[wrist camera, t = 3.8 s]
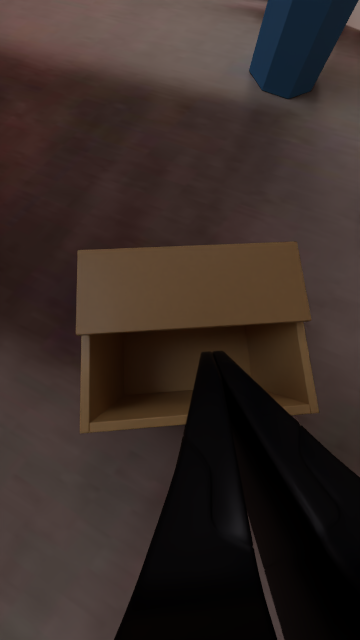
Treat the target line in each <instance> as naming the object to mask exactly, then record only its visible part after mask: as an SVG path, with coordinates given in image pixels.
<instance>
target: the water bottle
mask: <svg viewBox="0 0 360 640" xmlns="http://www.w3.org/2000/svg"><path fill="white" fill-rule="evenodd" d="M357 2H358V0H268V3H267V6H266V10H265V14H264V17H263V21H262V25H261V28H260V32H259V36H258V40H257V43H256V47H255V51H254V54H253V58H252V62H251V65H250V69H249V71H250V73H251V74H252V76H253V77H254V79H255V80H256V82H257V83H258V85H259V86H260V88H261V89H262V90H263V91H266V92H269V93H272V94H275V95H278V96H281V97H284V98H287V99H289V98H292V97H295V96H298V95H301V94H304V93H307V92H309V91H311V90H312V88H313V86H314V84H315V82H316V80H317V78H318V77H319V75H320V73H321V71H322V69H323V67H324V65H325V63H326V61H327V59H328V57H329V56H330V54H331V52H332V50H333V48H334V46H335V44H336V42H337V40H338V38H339V36H340V35H341V33H342V31H343V29H344V27H345V25H346V23H347V21H348V19H349V17H350V15H351V14H352V11H353V10H354V8H355V6H356V4H357Z"/></svg>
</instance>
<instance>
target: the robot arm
mask: <svg viewBox="0 0 360 640" xmlns="http://www.w3.org/2000/svg"><path fill="white" fill-rule="evenodd" d="M247 513H248V515H247ZM248 516H249V520H250V523H251V526H252V530H253V533H254V537H255V540H256V543H257V547H258V550H259V554H260V557H261V560H262V564H263V567H264V569H265V574H266V578H267V581H268V585H269V588H270V591H271V595H272V598H273V602H274V605H275V608H276V612H277V615H278V619H279V622H280V625H281V629H282V632H283V636H284V639H285V640H360V477H359V476H357V475H356V474H355V473H354V472H353V471H351V470H350V469H349V468H348V467H347V466H346V465H344V464H343V463H342V462H341V461H340V460H339V459H337V458H336V457H335V456H334V455H333V454H332V453H331V452H329V451H328V450H327V449H326V448H325V447H324V446H323V445H322V444H321V443H320V442H319V441H318V440H316V439H315V438H314V437H313V436H312V435H311V434H310V433H309V432H308V431H307V430H306V429H305V428H304V427H303V426H300V424H299V423H298V422H297V421H296V420H295V419H294V418H293V417H292V416H291V415H290V414H289V413H288V412H287V411H286V410H285V409H284V408H283V407H282V406H281V405H280V404H279V403H277V402H276V401H275V400H274V399H273V398H272V397H271V396H270V395H269V394H268V393H267V392H266V391H265V390H264V389H263V388H262V387H261V386H260V385H259V384H258V383H257V382H256V381H254V380H253V379H252V378H251V377H250V376H249V375H248V374H247V373H246V372H245V371H244V370H243V369H242V368H241V367H240V366H239V365H238V364H237V363H236V362H235V361H234V360H233V359H231V358H230V357H229V356H228V355H227V354H226V353H225V352H224V351H222V350H221V351H213V352H211V351H206V352H201V355H200V359H199V364H198V369H197V373H196V378H195V383H194V387H193V392H192V397H191V401H190V406H189V411H188V415H187V420H186V425H185V429H184V436H183V438H182V443H181V447H180V452H179V456H178V460H177V464H176V468H175V472H174V475H173V478H172V481H171V484H170V488H169V491H168V494H167V497H166V500H165V503H164V506H163V508H162V511H161V514H160V517H159V520H158V523H157V526H156V529H155V532H154V535H153V538H152V541H151V543H150V546H149V549H148V552H147V555H146V558H145V561H144V564H143V567H142V570H141V572H140V575H139V578H138V581H137V583H136V586H135V589H134V591H133V594H132V597H131V599H130V602H129V604H128V607H127V609H126V612H125V614H124V617H123V619H122V622H121V624H120V627H119V629H118V631H117V634H116V636H115V638H114V640H277V637H276V634H275V630H274V627H273V624H272V620H271V617H270V614H269V611H268V607H267V604H266V600H265V597H264V593H263V589H262V585H261V581H260V576H259V572H258V567H257V563H256V558H255V553H254V549H253V547H252V546H253V542H252V536H251V531H250V525H249V520H248Z"/></svg>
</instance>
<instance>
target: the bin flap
mask: <svg viewBox="0 0 360 640" xmlns="http://www.w3.org/2000/svg"><path fill="white" fill-rule="evenodd" d="M308 321H311V315H310V310H309V304H308V299H307V294H306V288H305V283H304V277H303V272H302V267H301V261H300V256H299V250H298V245H297V242H273V243H248V244H223V245H198V246H174V247H149V248H124V249H99V250H78V262H77V305H76V335H78V336H83V335H99V334H115V333H131V332H147V331H164V330H180V329H196V328H212V327H228V326H244V325H261V324H277V323H293V322H308Z"/></svg>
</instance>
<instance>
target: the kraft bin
mask: <svg viewBox="0 0 360 640" xmlns="http://www.w3.org/2000/svg"><path fill="white" fill-rule="evenodd" d="M221 350H222V351H224V352H225V353H226V354H227V355H228V356H229V357H230V358H231V359H233V360H234V361H235V362H236V363H237V364H238V365H239V366H240V367H241V368H242V369H243V370H244V371H245V372H246V373H247V374H248V375H249V376H250V377H251V378H252V379H253V380H254V381H256V382H257V383H258V384H259V385H260V386H261V387H262V388H263V389H264V390H265V391H266V392H267V393H268V394H269V395H270V396H271V397H272V398H273V399H274V400H275V401H276V402H277V403H279V404H280V405H281V406H282V407H283V408H284V409H285V410H286V411H287V412H288V413H289V414H290V415H300V414H310V413H311V414H312V413H319V409H318V403H317V397H316V392H315V386H314V381H313V375H312V369H311V364H310V358H309V352H308V347H307V341H306V335H305V330H304V324H303V322H293V323H277V324H261V325H244V326H228V327H212V328H196V329H180V330H164V331H147V332H131V333H115V334H99V335H83V336H82V337H81V393H80V433H89V432H90V433H92V432H104V431H115V430H127V429H138V428H150V427H162V426H173V425H185V424H186V420H187V415H188V411H189V406H190V401H191V397H192V392H193V387H194V383H195V378H196V373H197V369H198V364H199V359H200V355H201V352H206V351H211V352H213V351H221Z"/></svg>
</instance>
